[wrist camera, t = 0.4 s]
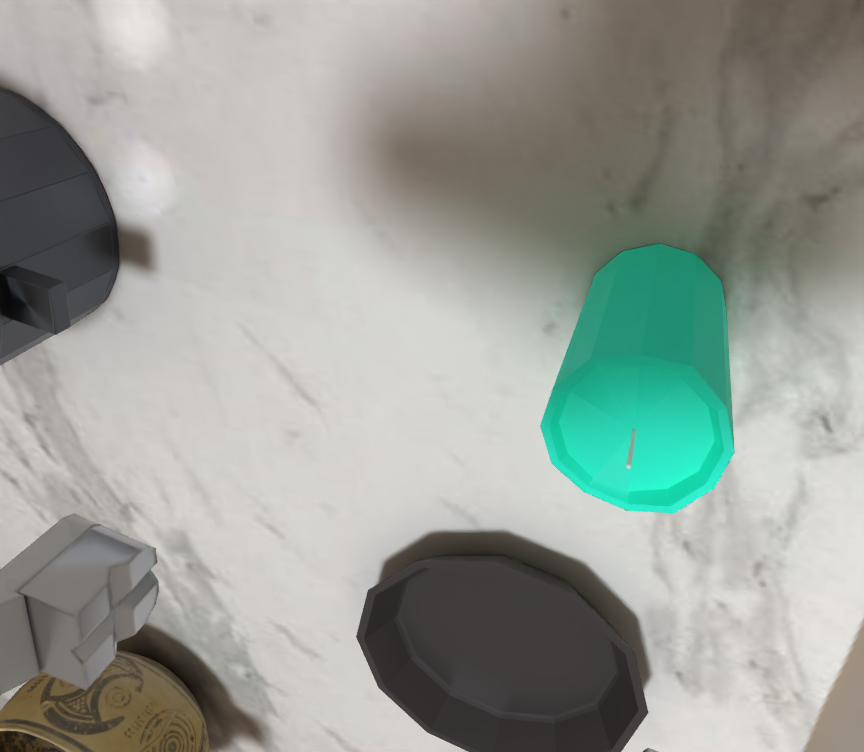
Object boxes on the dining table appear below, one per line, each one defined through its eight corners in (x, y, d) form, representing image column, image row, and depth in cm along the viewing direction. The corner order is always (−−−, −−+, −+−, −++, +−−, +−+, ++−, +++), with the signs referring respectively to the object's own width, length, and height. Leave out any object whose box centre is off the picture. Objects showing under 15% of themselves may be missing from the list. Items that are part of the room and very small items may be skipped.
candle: (750, 339, 30) (771, 517, 21) (621, 387, 33) (586, 561, 24) (690, 218, 29) (681, 348, 19) (561, 280, 32) (495, 419, 22)
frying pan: (671, 562, 37) (667, 615, 34) (615, 878, 53) (609, 934, 50) (361, 500, 43) (334, 542, 40) (393, 804, 58) (375, 851, 55)
